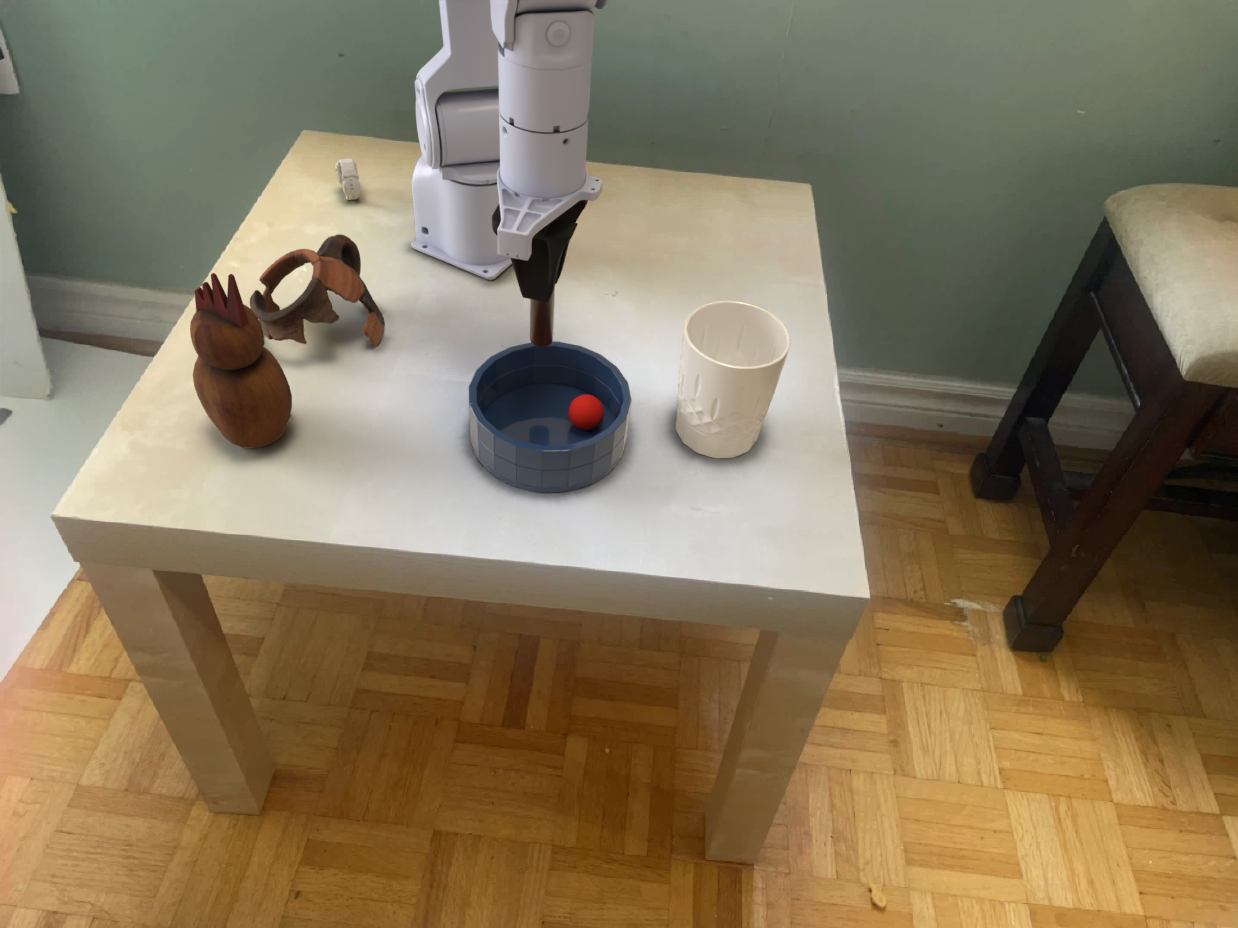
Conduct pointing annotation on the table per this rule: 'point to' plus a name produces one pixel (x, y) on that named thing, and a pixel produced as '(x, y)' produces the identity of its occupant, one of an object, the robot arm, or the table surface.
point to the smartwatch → (348, 178)
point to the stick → (542, 321)
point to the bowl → (547, 416)
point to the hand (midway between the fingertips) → (540, 288)
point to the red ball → (586, 412)
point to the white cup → (728, 376)
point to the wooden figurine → (237, 369)
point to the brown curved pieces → (316, 291)
